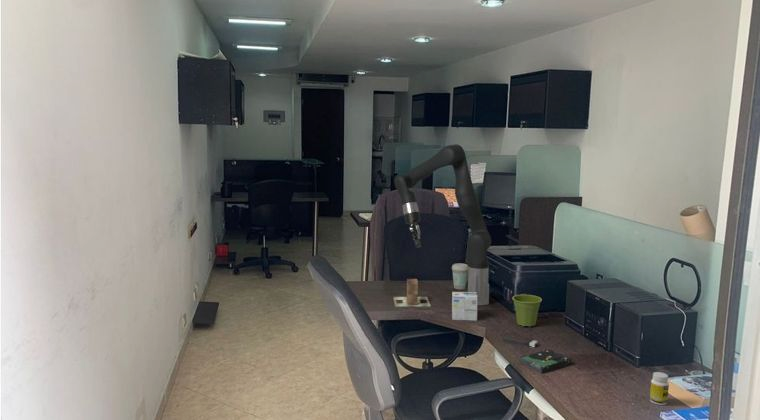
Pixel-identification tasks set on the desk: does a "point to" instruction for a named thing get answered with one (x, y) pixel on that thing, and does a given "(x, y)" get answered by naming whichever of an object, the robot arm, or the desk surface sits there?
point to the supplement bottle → (659, 388)
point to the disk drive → (545, 361)
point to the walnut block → (412, 291)
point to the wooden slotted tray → (411, 305)
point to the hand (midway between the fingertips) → (418, 247)
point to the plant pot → (526, 309)
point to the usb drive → (519, 340)
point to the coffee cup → (460, 275)
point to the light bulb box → (464, 306)
